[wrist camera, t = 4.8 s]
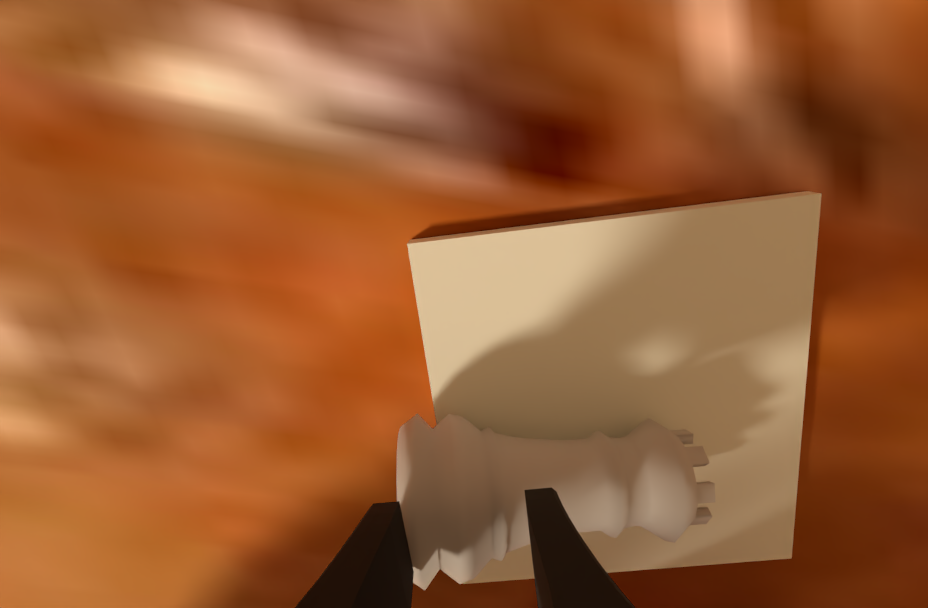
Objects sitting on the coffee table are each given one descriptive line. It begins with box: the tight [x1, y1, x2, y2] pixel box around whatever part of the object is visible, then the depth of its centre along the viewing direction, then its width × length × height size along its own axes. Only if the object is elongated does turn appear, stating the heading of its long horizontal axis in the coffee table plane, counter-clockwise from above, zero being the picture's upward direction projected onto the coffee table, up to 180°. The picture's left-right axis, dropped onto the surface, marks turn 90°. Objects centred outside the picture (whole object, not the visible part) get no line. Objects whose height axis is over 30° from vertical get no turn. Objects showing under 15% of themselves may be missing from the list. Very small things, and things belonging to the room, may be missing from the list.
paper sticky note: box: [407, 191, 822, 584], centre depth 16 cm, size 11×12×1 cm
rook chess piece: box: [396, 414, 715, 590], centre depth 14 cm, size 4×4×8 cm
